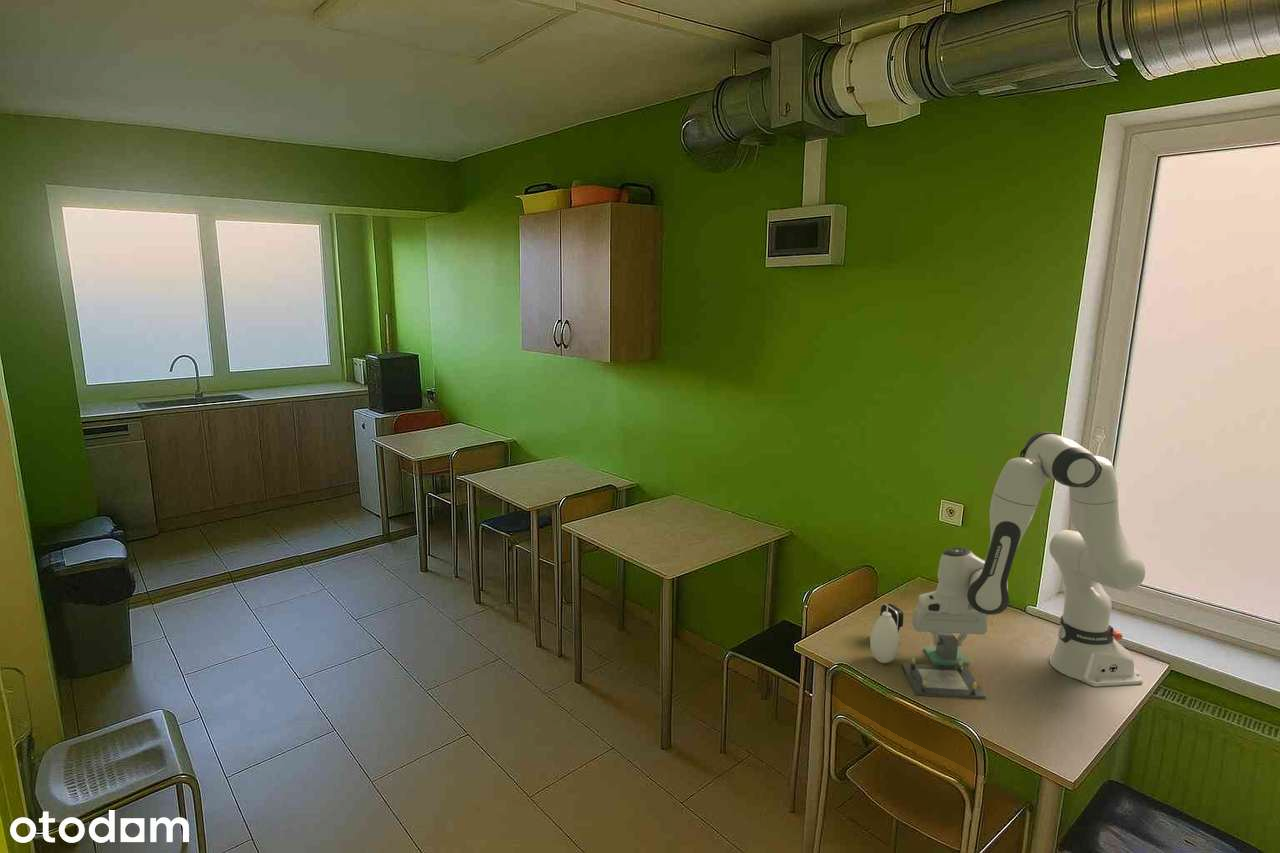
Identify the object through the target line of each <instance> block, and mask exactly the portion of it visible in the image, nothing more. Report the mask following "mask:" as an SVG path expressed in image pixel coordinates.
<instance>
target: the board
mask: <svg viewBox="0 0 1280 853" xmlns="http://www.w3.org/2000/svg"><path fill="white" fill-rule="evenodd" d="M936 637H939V639H940V640H941V642H940V645H935V647H923V651H924V653H925V654H926V656H927V657H928V659H929V660H930V661H931V663H932V665H940V666H958V662H959V659H963V666H969V664H970V663H969V661H968V660H967V658H966V657H965V656H964V654H963V652H961V651H960V649H959V648H958V647H959V646H958V640H957V639H956V638H957V637H956V636H955V635H954V633H941V632H938V633H937V635H936Z"/></svg>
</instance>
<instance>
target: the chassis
mask: <svg viewBox="0 0 1280 853" xmlns="http://www.w3.org/2000/svg"><path fill="white" fill-rule="evenodd" d="M916 663H917V657H916V656H914V655H913V656H911V659H910V663H902V665H901V667H902V669H903V670H904V673H905V675H906V677H907V679H908V681H909V683H910V685H911V688H912V690H913V692H914V695H915V696H927V697H928V696H930V697H943V698H944V697H946V698H947V697H948V698H961V699H962V698H963V699H976V700H977V699H978V700H979V699H981V700H982V699H983V700H985V699H987V698H986V697H987V696H986V694H985V693H984V691H983V690H982V687H981V686H980V685H979V682H978V681H977V680H976V679H975V677H974V676H973V674H972V672H971V670H970V669H969V667H968V666H964V665H963V659H959V662H958V665H934V664H919V663H918V664H916Z"/></svg>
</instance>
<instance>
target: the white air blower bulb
mask: <svg viewBox="0 0 1280 853" xmlns="http://www.w3.org/2000/svg"><path fill="white" fill-rule="evenodd" d="M891 616H892V615H891V613H889V612H888V605H887V609H886V612H883V613H882V615H881V616H880V615H879V617H878V618H877V620H876V621H875V622H874V625H873V627H872V629H871V633H870V641H869V644H870V651H871V653H872V656H873V657H874V659H876V660H877V661H878V662H879V663H882V664H887V663H889V662H892V661H893V659H894V658H895V657H896V656H897V653H898V650H899V646H900V645H899V644H900V637H899V636H900V635H899V632H898V630H897V626H896V624H895V621H894V619H893V618H892V617H891Z"/></svg>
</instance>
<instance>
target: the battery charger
mask: <svg viewBox="0 0 1280 853" xmlns="http://www.w3.org/2000/svg"><path fill="white" fill-rule="evenodd" d="M887 605H888V612H889V613H891V615H892V616H891V617H892V618H893V619H894V621H895V624H896V626H897V630H898V633H900V632H899V631H900V629H901V628H902V627H904V612H903V611H902V609H900V608H899V607H897V606H896V605H894V604H892V603H887V604H886V603H884V604H883V605H881V608H880V613H879V614H880V615H879V617H880V616H881V615H882V613H883V612H886V609H887Z"/></svg>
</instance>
